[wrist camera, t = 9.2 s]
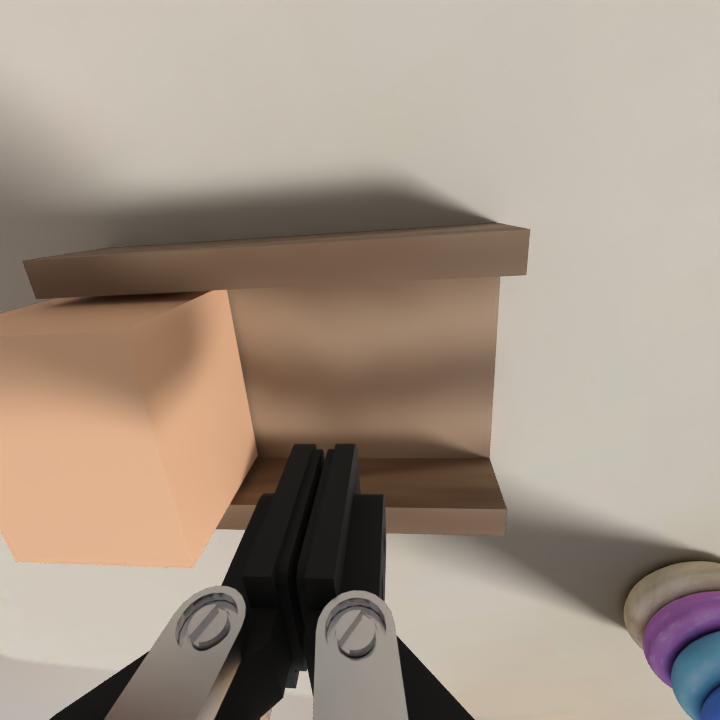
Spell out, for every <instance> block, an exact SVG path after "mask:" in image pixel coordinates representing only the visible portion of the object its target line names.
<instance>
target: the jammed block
mask: <svg viewBox="0 0 720 720" xmlns="http://www.w3.org/2000/svg"><path fill="white" fill-rule="evenodd" d="M257 456H258V453H257V448H256V442H255V437H254V432H253V426H252V421H251V416H250V410H249V405H248V400H247V394H246V389H245V384H244V379H243V373H242V368H241V363H240V357H239V352H238V347H237V341H236V336H235V331H234V325H233V320H232V315H231V309H230V304H229V299H228V293H227V290H213V291H192V292H172V293H152V294H131V295H111V296H91V297H70V298H55V299H51V300H47V301H44V302H40V303H36V304H33V305H29V306H25V307H22V308H18V309H14V310H11V311H7V312H3V313H0V531H1V533H2V535H3V537H4V539H5V541H6V543H7V545H8V547H9V549H10V551H11V553H12V555H13V557H14V559H15V561H16V562H35V563H62V564H90V565H118V566H145V567H173V568H193V567H194V566H195V564H196V562H197V560H198V559H199V557H200V555H201V553H202V552H203V550H204V548H205V546H206V545H207V543H208V541H209V539H210V538H211V536H212V534H213V532H214V531H215V529H216V527H217V526H218V524H219V522H220V520H221V519H222V517H223V515H224V513H225V512H226V510H227V508H228V506H229V505H230V503H231V501H232V499H233V498H234V496H235V494H236V492H237V491H238V489H239V487H240V485H241V484H242V482H243V480H244V478H245V477H246V475H247V473H248V471H249V470H250V468H251V466H252V465H253V463H254V461H255V459H256V458H257Z"/></svg>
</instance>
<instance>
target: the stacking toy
mask: <svg viewBox="0 0 720 720" xmlns="http://www.w3.org/2000/svg"><path fill="white" fill-rule="evenodd" d="M624 622H625V625H626V628H627V630H628V632H629V634H630V636H631V637H632V639H633V640H634V641H635V642H636V644H637V645H638V646H639V647H640V648H642V649H643V650H644V654H645V657H646V659H647V661H648V664H649V665H650V667H651V669H652V670H653V671H654V673H655V674H656V675H657V676H658V677H659V678H660V679H661V680H662V681H663V682H664V683H665V684H667V685H668V686H669V687H671V688H673V691H674V694H675V696H676V699H677V700H678V702H679V704H680V705H681V707H682V708H683V709H684V711H685V712H686V713H687V714H688V715H689V716H690V717H691V718H692V719H693V720H720V563H715V562H706V561H691V562H683V563H677V564H673V565H669V566H667V567H664V568H661V569H659V570H656V571H654V572H652V573H650V574H649V575H647V576H645V577H644V578H643V579H641V580H640V581H639V582H638V583H637V584H636V585H635V586H634V587H633V588H632V590H631V591H630V593H629V595H628V597H627V599H626V602H625V606H624Z"/></svg>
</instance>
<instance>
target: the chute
mask: <svg viewBox="0 0 720 720" xmlns="http://www.w3.org/2000/svg"><path fill="white" fill-rule="evenodd" d="M529 236H530V229H526V228H521V227H516V226H511V225H506V224H501V223H489V224H474V225H458V226H443V227H427V228H411V229H396V230H380V231H365V232H349V233H334V234H318V235H303V236H287V237H271V238H256V239H240V240H225V241H209V242H194V243H178V244H163V245H147V246H131V247H116V248H104V249H97V250H90V251H84V252H77V253H71V254H64V255H57V256H51V257H44V258H37V259H31V260H24V261H23V264H24V267H25V269H26V272H27V275H28V278H29V280H30V283H31V286H32V289H33V291H34V294H35V297H36V299H50V298H70V297H91V296H111V295H131V294H152V293H172V292H192V291H213V290H227V293H228V299H229V304H230V309H231V315H232V320H233V325H234V331H235V336H236V341H237V347H238V352H239V357H240V363H241V368H242V373H243V379H244V384H245V389H246V394H247V400H248V405H249V410H250V416H251V421H252V426H253V432H254V437H255V442H256V448H257V453H258V456H257V458H256V459H255V461H254V463H253V465H252V466H251V468H250V470H249V471H248V473H247V475H246V477H245V478H244V480H243V482H242V484H241V485H240V487H239V489H238V491H237V492H236V494H235V496H234V498H233V499H232V501H231V503H230V505H229V506H228V508H227V510H226V512H225V513H224V515H223V517H222V519H221V520H220V522H219V524H218V526H217V527H216V529H234V530H246V528H247V526H248V523H249V521H250V519H251V516H252V514H253V512H254V510H255V507H256V505H257V503H258V500H259V499H260V497H261V495H262V494H264V493H275V491H276V488H277V486H278V483H279V481H280V478H281V476H282V473H283V471H284V468H285V465H286V463H287V460H288V458H289V455H290V453H291V450H292V448H293V446H294V444H316V447H317V449H323V452H324V459H325V458H326V454H327V450H328V449H334V448H335V444H356V445H357V452H358V464H359V476H360V488H361V494H384V497H385V512H386V533H400V534H442V535H483V536H505V526H506V514H507V508H506V505H505V503H504V500H503V497H502V494H501V491H500V488H499V485H498V482H497V479H496V476H495V473H494V470H493V467H492V464H491V462H490V459H489V456H490V440H491V423H492V406H493V389H494V372H495V356H496V339H497V322H498V305H499V288H500V276H518V275H526V272H527V260H528V248H529Z"/></svg>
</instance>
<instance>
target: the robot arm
mask: <svg viewBox="0 0 720 720" xmlns="http://www.w3.org/2000/svg"><path fill="white" fill-rule="evenodd" d="M385 568H386V512H385V497H384V494H361V488H360V476H359V464H358V452H357V445H356V444H335V448H334V449H328V450H327V454H326V458H325V459H324V452H323V449H317V447H316V444H294V446H293V448H292V450H291V453H290V455H289V458H288V460H287V463H286V465H285V468H284V471H283V473H282V476H281V478H280V481H279V483H278V486H277V488H276V491H275V493H264V494H262V495H261V497H260V499H259V500H258V503H257V505H256V507H255V510H254V512H253V514H252V516H251V519H250V521H249V523H248V526H247V528H246V530H245V533H244V535H243V537H242V539H241V542H240V544H239V546H238V549H237V551H236V553H235V556H234V558H233V560H232V562H231V565H230V567H229V569H228V572H227V574H226V576H225V578H224V581H223V583H222V585H221V586H214V587H210V588H206V589H204V590H202V591H200V592H198V593H196V594H194V595H193V596H191V597H190V598H189V599H188V600H186V601H185V602H184V603H183V604H182V605H181V606H180V607H179V609H178V610H177V611H176V612H175V613H174V615H173V617H172V618H171V620H170V621H169V623H168V624H167V626H166V627H165V629H164V630H163V632H162V633H161V635H160V636H159V638H158V639H157V641H156V642H155V644H154V645H153V647H152V648H151V650H150V651H149V652H147V653H146V654H144V655H143V656H141V657H140V658H138V659H137V660H135V661H134V662H132V663H131V664H129V665H128V666H126V667H125V668H124V669H122V670H121V671H119V672H118V673H116V674H115V675H113V676H112V677H110V678H109V679H108V680H106V681H104V682H103V683H101V684H100V685H99V686H97V687H96V688H94V689H93V690H91V691H90V692H88V693H87V694H85V695H84V696H82V697H81V698H79V699H78V700H76V701H75V702H73V703H72V704H70V705H69V706H68V707H66V708H65V709H63V710H62V711H60V712H59V713H57V714H56V715H55V716H53V717H52V718H51V719H50V720H270V716H271V711H272V707H273V706H274V705H275V704H276V703H277V702H279V701H280V700H281V699H282V698H283V695H284V690H285V688H296V685H297V680H298V675H299V671H306V670H307V668H308V673H309V678H310V683H311V688H312V693H313V698H314V699H313V720H474V718H473V717H472V716H471V715H470V714H469V713H468V712H467V711H466V710H465V709H464V708H463V707H462V706H461V704H460V703H459V702H458V701H457V700H456V699H455V698H454V697H453V696H452V695H451V694H450V693H449V691H448V690H447V689H446V688H445V687H444V686H443V685H442V684H441V683H440V682H439V681H438V680H437V679H436V677H435V676H434V675H433V674H432V673H431V672H430V671H429V670H428V669H427V668H426V667H425V666H424V665H423V663H422V662H421V661H420V660H419V659H418V658H417V657H416V656H415V655H414V654H413V653H412V652H411V650H410V649H409V648H408V647H407V646H406V645H405V644H404V643H403V642H402V641H401V640H400V639H399V638H398V636H397V635H396V630H395V623H394V620H393V616H392V613H391V610H390V609H389V608H388V606H387V605H386V603H385V602H384V601H385Z"/></svg>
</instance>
